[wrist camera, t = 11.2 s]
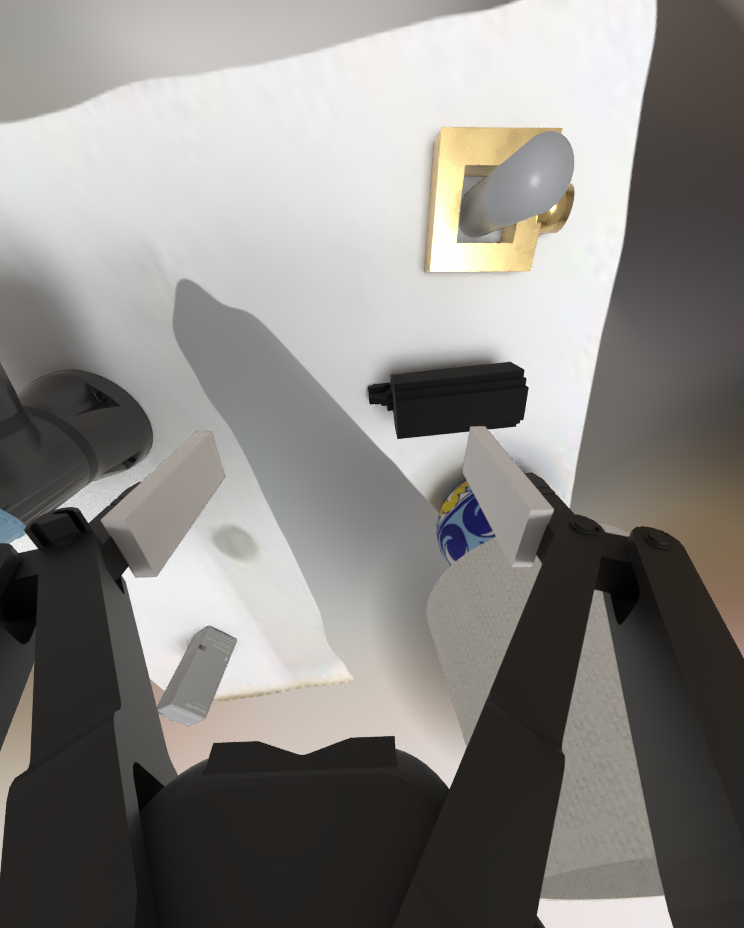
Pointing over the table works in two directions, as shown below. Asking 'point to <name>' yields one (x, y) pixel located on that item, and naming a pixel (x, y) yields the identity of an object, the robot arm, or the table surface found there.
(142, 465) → the table surface
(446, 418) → the security camera
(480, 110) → the table surface
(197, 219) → the table surface
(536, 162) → the grey rounded cylinder
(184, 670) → the skincare box
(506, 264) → the gold square frame
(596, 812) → the table lamp
